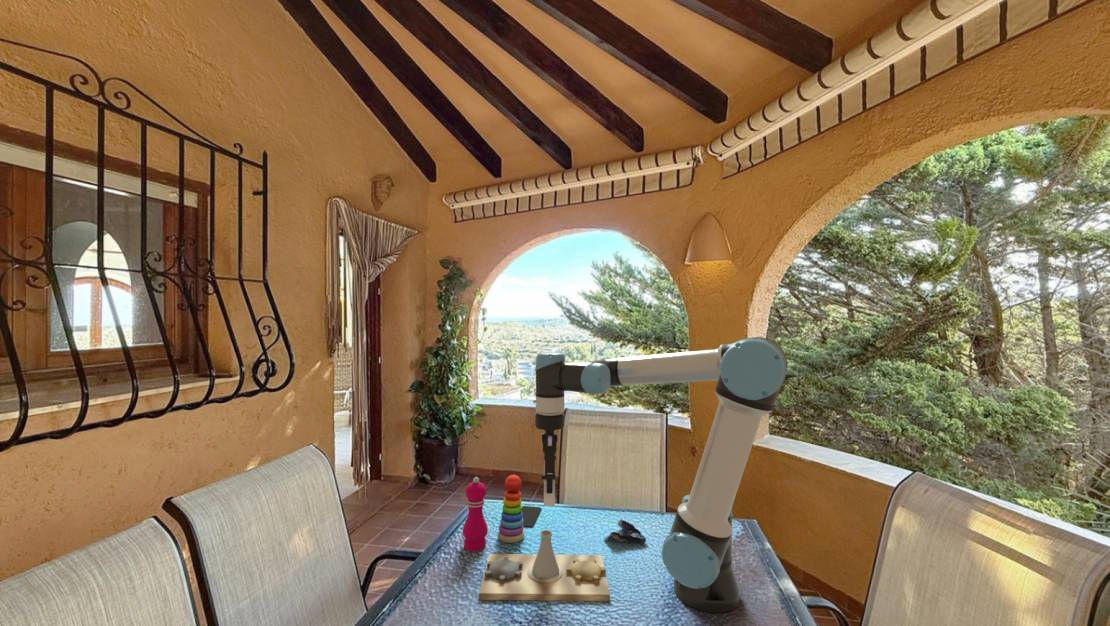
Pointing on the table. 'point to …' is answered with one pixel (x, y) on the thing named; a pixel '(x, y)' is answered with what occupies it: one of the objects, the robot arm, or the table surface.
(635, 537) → the snack package
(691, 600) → the robot arm
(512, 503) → the stacking toy
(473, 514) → the pepper mill
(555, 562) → the flask
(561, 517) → the table surface
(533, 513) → the phone
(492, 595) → the gear board
